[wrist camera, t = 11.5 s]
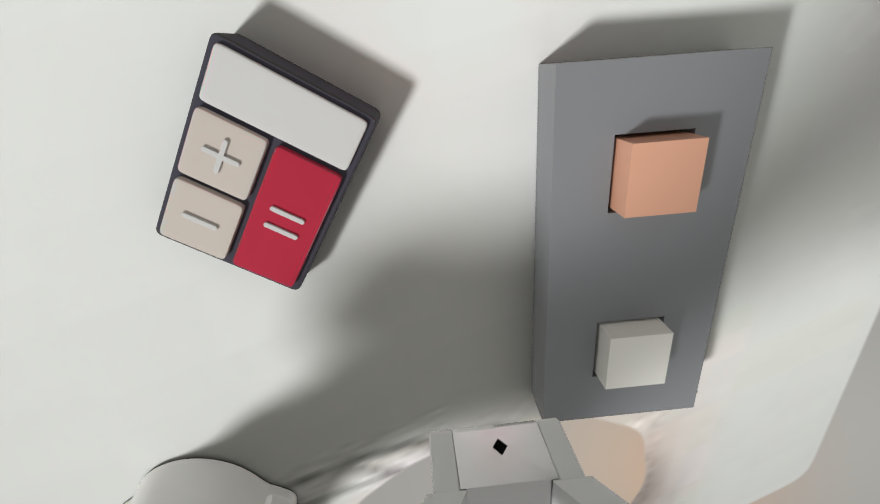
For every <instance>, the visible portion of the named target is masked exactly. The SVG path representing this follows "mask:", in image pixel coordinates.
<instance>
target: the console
mask: <svg viewBox="0 0 880 504" xmlns="http://www.w3.org/2000/svg"><path fill="white" fill-rule="evenodd" d="M772 48H773V47H766V48H747V49H729V50H716V51H703V52H690V53H677V54H664V55H651V56H638V57H625V58H612V59H599V60H586V61H573V62H560V63H547V64H539V76H538V123H537V170H536V217H535V264H534V311H533V358H532V394H533V397H534V399H535V402H536V405H537V407H538V410H539V413H540V415H541V418H542V419H549V418H557V419H558V420H559V421H564V420H574V419H584V418H593V417H603V416H613V415H622V414H632V413H642V412H652V411H661V410H671V409H681V408H690V407H693V406H694V402H695V397H696V393H697V388H698V384H699V379H700V375H701V370H702V366H703V361H704V357H705V352H706V347H707V343H708V338H709V334H710V329H711V325H712V320H713V316H714V311H715V307H716V302H717V297H718V293H719V288H720V284H721V279H722V275H723V270H724V266H725V261H726V257H727V252H728V248H729V243H730V238H731V234H732V229H733V225H734V220H735V216H736V211H737V207H738V202H739V198H740V193H741V188H742V184H743V179H744V175H745V170H746V166H747V161H748V157H749V152H750V148H751V143H752V139H753V134H754V129H755V125H756V120H757V116H758V111H759V107H760V102H761V98H762V93H763V89H764V84H765V79H766V75H767V70H768V66H769V61H770V57H771V52H772ZM668 130H680V131H684V132H688V133H693V134H697V135H701V136H705V137H709V143H708V148H707V154H706V159H705V165H704V171H703V176H702V182H701V187H700V193H699V198H698V204H697V209H696V212H688V213H677V214H666V215H654V216H643V217H632V218H624V217H622V216H621V215H619V214H618V213H617V212H615V211H614V210H612V209H611V208H610V207H608V203H609V193H610V182H611V171H612V160H613V149H614V139H615V135H620V134H632V133H644V132H656V131H668ZM651 317H658V318H659V319H660V320H661V321H662V322H663V323H664V324H665V325H666V326H667V327H668V328H669V329H670V330H671V331H672V332H673V333H674V334H673V340H672V345H671V351H670V357H669V362H668V368H667V373H666V379H665V383H664V384H655V385H645V386H635V387H625V388H615V389H605V388H604V386H603V385H602V383H601V381H600V380H599V378H598V376H597V375H596V373H595V371H594V370H593V365H594V354H595V344H596V333H597V323H599V322H609V321H620V320H630V319H641V318H651Z"/></svg>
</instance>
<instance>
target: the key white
mask: <svg viewBox="0 0 880 504" xmlns="http://www.w3.org/2000/svg"><path fill="white" fill-rule="evenodd" d="M673 334H674V333H673V332H672V331H671V330H670V329H669V328H668V327H667V326H666V325H665V324H664V323H663V322H662V321H661V320H660V319H659V318H658V317H651V318H641V319H630V320H620V321H609V322H599V323H597V333H596V344H595V354H594V365H593V370H594V371H595V373H596V375H597V376H598V378H599V380H600V381H601V383H602V385H603V386H604V388H605V389H615V388H625V387H635V386H645V385H655V384H664V383H665V379H666V373H667V368H668V362H669V357H670V351H671V345H672V340H673Z"/></svg>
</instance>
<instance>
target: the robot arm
mask: <svg viewBox="0 0 880 504" xmlns="http://www.w3.org/2000/svg"><path fill="white" fill-rule="evenodd" d="M429 441H430V455H431V469H432V482H433V494H428V495H426V497H425V498H424V500H423V502H422V503H421V504H629V503H627V502H626V501H625V500H623V499H622V498H621V497H619V496H618V495H617V494H615V493H614V492H613V491H611V490H610V489H609V488H607V487H606V486H605V485H603V484H602V483H601V482H599V481H598V480H597V479H595V478H594V477H592V476H588V477H587V476H586V477H585V474H584V472H583V470H582V468H581V466H580V464H579V462H578V460H577V457H576V455H575V453H574V451H573V449H572V447H571V445H570V443H569V440H568V438H567V436H566V434H565V432H564V430H563V427H562V425H561V423H560V421H559V420H558V419H557V418H549V419H540V420H535V421H534V420H532V421H523V422H514V423H506V424H497V425H490V426H477V427H465V428H452V429H446V430H432V431H429ZM125 504H297V497H296V495H295V494H294V493H293V492H292V491H290V490H288V489H285V488H282V487H278V486H275V485H271V484H269V483H267V482H265V481H263V480H262V479H260V478H259V477H258V476H256V475H255V474H253V473H251V472H250V471H248V470H246V469H244V468H241V467H239V466H237V465H234V464H231V463H227V462H223V461H219V460H212V459H198V458H196V459H183V460H177V461H173V462H169V463H166V464H163V465H161V466H159V467H157V468H155V469H153V470H152V471H150V472H149V473H148V474H147V475H146V476H145V477H144V478H143V479H142V480H141V481H140V483H139V485H138V487H137V489H136V491H135V494H134V496H133V497H132V499H130V500H129V501H127V502H126V503H125Z"/></svg>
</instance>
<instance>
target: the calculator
mask: <svg viewBox="0 0 880 504" xmlns="http://www.w3.org/2000/svg"><path fill="white" fill-rule="evenodd" d="M379 118H380V112H379V110H377V109H376V108H374V107H372V106H371V105H369V104H367V103H365V102H363V101H361V100H360V99H358V98H356V97H354V96H352V95H350V94H349V93H347V92H345V91H343V90H341V89H339V88H337V87H336V86H334V85H332V84H330V83H328V82H326V81H325V80H323V79H321V78H319V77H317V76H315V75H313V74H312V73H310V72H308V71H306V70H304V69H302V68H301V67H299V66H297V65H295V64H293V63H291V62H289V61H288V60H286V59H284V58H282V57H280V56H278V55H277V54H275V53H273V52H271V51H269V50H267V49H265V48H264V47H262V46H260V45H258V44H256V43H254V42H253V41H251V40H249V39H247V38H245V37H243V36H241V35H239V34H229V33H214V34H212V35H211V36H210V39H209V42H208V46H207V49H206V53H205V56H204V60H203V64H202V67H201V71H200V74H199V78H198V81H197V85H196V88H195V92H194V95H193V99H192V103H191V106H190V110H189V113H188V117H187V120H186V124H185V127H184V131H183V134H182V138H181V142H180V145H179V149H178V152H177V156H176V159H175V163H174V166H173V170H172V173H171V177H170V181H169V184H168V188H167V191H166V195H165V198H164V202H163V205H162V209H161V212H160V216H159V220H158V223H157V227H156V230H157V232H158V233H159V234H160V235H162V236H164V237H167V238H169V239H172V240H174V241H176V242H179V243H181V244H184V245H186V246H189V247H191V248H193V249H196V250H198V251H201V252H203V253H206V254H208V255H211V256H213V257H215V258H218V259H220V260H223V261H225V262H228V263H230V264H233V265H235V266H237V267H240V268H242V269H245V270H247V271H250V272H252V273H254V274H257V275H259V276H262V277H264V278H267V279H269V280H272V281H274V282H276V283H279V284H281V285H284V286H286V287H289V288H291V289H295V290H296V289H299V288H300V287H301V285H302V283H303V281H304V279H305V277H306V275H307V273H308V271H309V269H310V267H311V264H312V262H313V260H314V258H315V256H316V254H317V252H318V249H319V247H320V245H321V243H322V241H323V239H324V237H325V234H326V232H327V230H328V228H329V226H330V224H331V221H332V219H333V217H334V215H335V213H336V211H337V209H338V206H339V204H340V202H341V200H342V198H343V196H344V194H345V191H346V189H347V187H348V185H349V183H350V181H351V179H352V176H353V174H354V172H355V170H356V168H357V166H358V164H359V162H360V159H361V157H362V155H363V153H364V151H365V149H366V147H367V144H368V142H369V140H370V138H371V136H372V134H373V131H374V129H375V127H376V125H377V123H378V121H379Z"/></svg>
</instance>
